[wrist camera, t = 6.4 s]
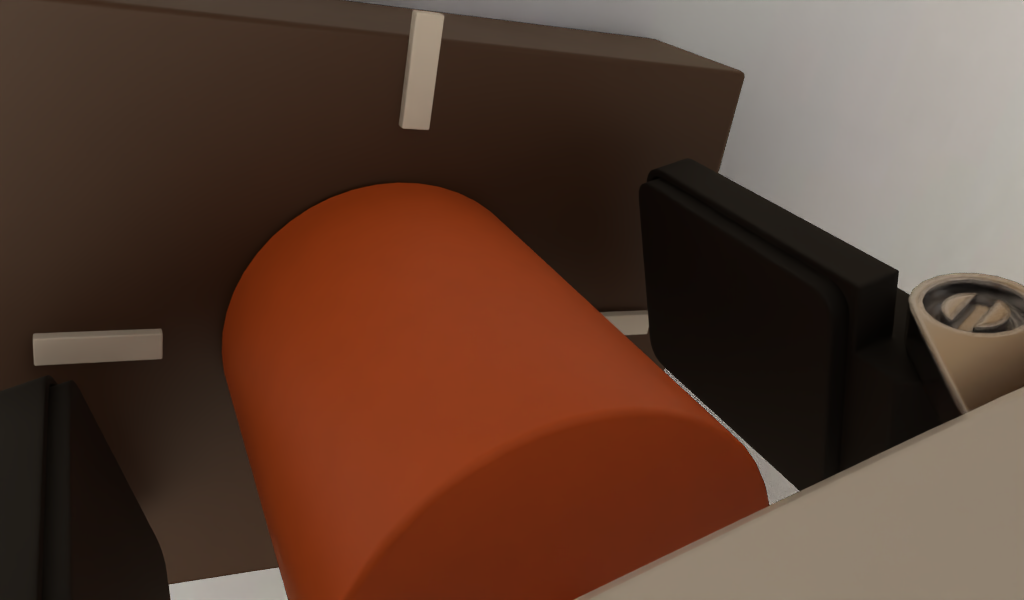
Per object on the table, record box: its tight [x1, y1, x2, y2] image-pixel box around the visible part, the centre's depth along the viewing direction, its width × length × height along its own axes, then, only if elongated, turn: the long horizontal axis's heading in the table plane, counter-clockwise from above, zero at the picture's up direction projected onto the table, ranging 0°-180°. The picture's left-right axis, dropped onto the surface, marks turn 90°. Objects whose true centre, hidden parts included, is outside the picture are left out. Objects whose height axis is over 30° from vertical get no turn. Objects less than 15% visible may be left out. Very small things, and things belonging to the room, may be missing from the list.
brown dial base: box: [0, 0, 744, 584], centre depth 13 cm, size 10×9×3 cm
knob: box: [222, 183, 769, 600], centre depth 10 cm, size 4×4×6 cm
